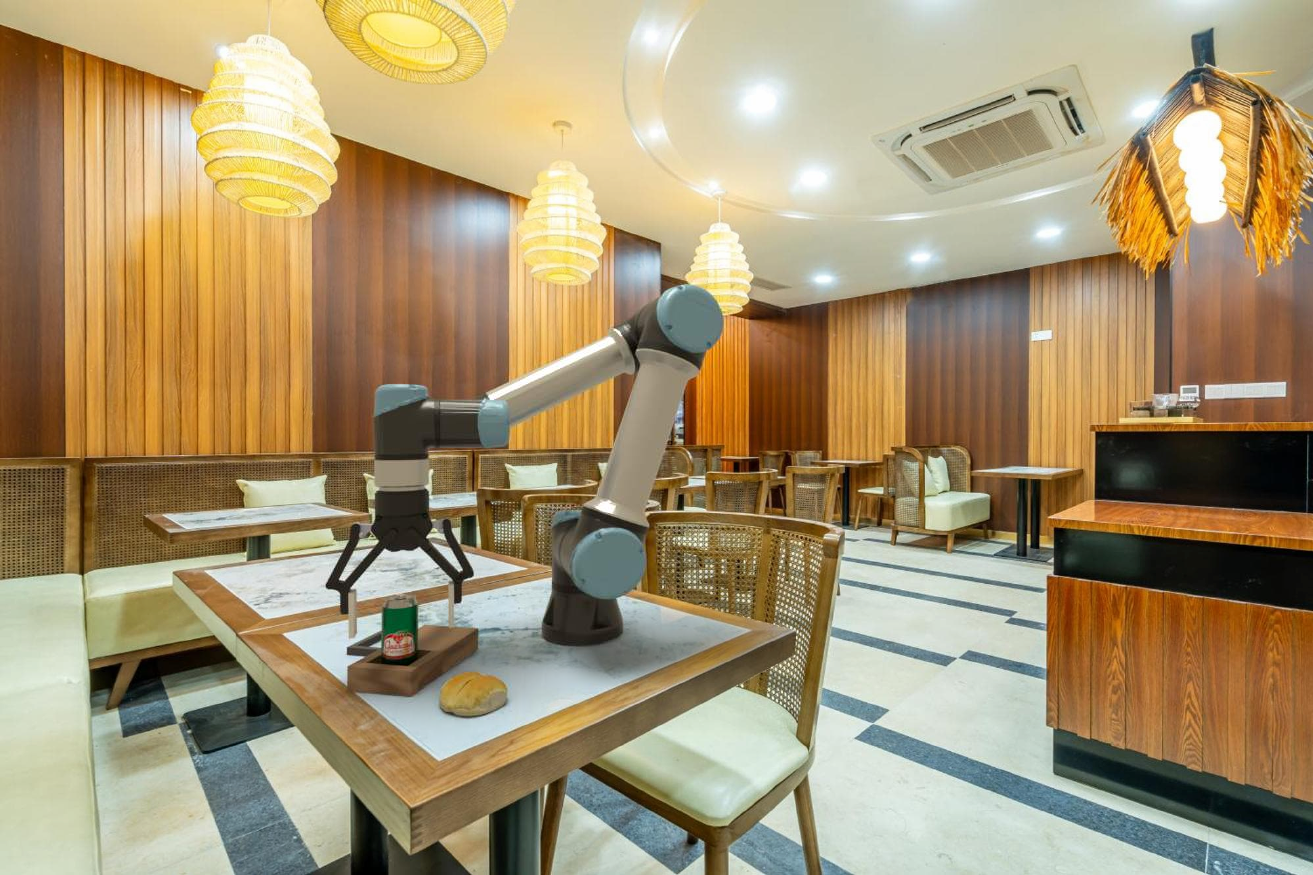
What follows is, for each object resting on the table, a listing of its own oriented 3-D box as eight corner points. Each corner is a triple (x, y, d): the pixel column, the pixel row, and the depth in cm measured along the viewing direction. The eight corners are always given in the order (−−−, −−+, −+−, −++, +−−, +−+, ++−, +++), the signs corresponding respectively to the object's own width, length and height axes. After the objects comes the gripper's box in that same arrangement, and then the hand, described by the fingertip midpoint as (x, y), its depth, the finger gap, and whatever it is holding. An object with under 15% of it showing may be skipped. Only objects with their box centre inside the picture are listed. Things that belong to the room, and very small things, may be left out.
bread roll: (472, 687, 88) (473, 659, 89) (517, 701, 84) (517, 672, 84) (424, 707, 81) (424, 678, 82) (469, 724, 77) (469, 692, 77)
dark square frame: (425, 640, 108) (426, 633, 108) (395, 658, 99) (395, 651, 99) (380, 637, 110) (380, 630, 110) (346, 654, 101) (346, 647, 101)
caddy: (478, 648, 104) (478, 628, 104) (411, 696, 84) (411, 671, 84) (424, 644, 106) (425, 624, 106) (347, 690, 86) (347, 666, 86)
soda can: (378, 686, 87) (379, 603, 87) (382, 673, 92) (383, 594, 92) (416, 682, 89) (417, 600, 89) (418, 669, 93) (419, 592, 93)
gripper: (486, 483, 98) (487, 614, 98) (312, 489, 90) (313, 632, 90) (490, 487, 91) (491, 627, 91) (301, 493, 83) (303, 648, 83)
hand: (403, 630), depth 90 cm, fingers open, 13 cm apart
